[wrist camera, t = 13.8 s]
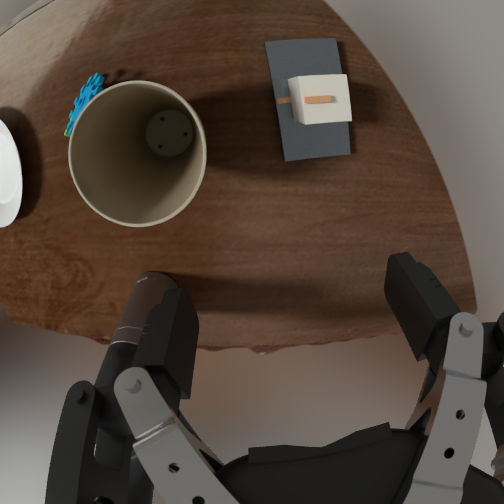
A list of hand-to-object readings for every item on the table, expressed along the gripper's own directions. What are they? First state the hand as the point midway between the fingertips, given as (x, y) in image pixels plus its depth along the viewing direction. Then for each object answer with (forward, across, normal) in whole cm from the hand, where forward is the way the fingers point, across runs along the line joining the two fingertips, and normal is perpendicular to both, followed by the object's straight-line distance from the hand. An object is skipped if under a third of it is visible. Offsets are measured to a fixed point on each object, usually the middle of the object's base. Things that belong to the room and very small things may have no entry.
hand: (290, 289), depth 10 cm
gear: (+32, +23, -13) cm, 42 cm away
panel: (+32, -8, -6) cm, 34 cm away
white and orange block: (+30, -9, -6) cm, 32 cm away
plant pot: (+32, +12, -4) cm, 35 cm away
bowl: (+32, +53, -12) cm, 63 cm away
